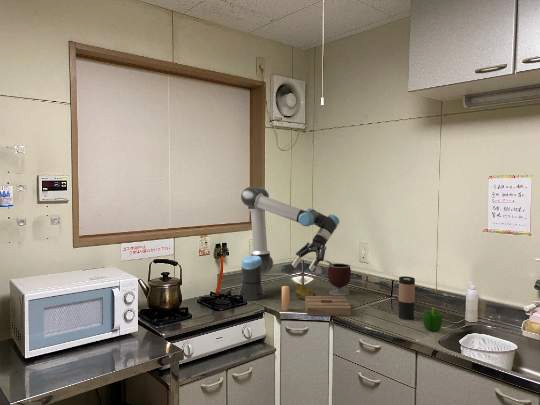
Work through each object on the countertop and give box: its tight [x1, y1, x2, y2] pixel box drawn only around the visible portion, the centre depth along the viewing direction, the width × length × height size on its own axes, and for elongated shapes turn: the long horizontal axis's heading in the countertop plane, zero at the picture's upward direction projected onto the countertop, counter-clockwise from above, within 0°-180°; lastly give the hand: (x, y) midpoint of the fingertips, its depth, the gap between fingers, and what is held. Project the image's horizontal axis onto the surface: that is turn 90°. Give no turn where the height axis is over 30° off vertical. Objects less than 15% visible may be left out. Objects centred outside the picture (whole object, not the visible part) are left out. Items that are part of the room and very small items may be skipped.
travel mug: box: [397, 276, 416, 321], centre depth 207 cm, size 8×8×20 cm
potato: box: [293, 284, 317, 301], centre depth 241 cm, size 8×13×8 cm, turn 44°
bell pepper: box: [422, 306, 443, 332], centre depth 190 cm, size 8×8×10 cm
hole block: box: [304, 295, 352, 316], centre depth 221 cm, size 22×22×4 cm
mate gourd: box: [325, 260, 352, 296], centre depth 255 cm, size 16×14×20 cm
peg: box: [281, 285, 290, 312], centre depth 220 cm, size 4×4×12 cm
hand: (301, 268), depth 226 cm, fingers open, 13 cm apart
